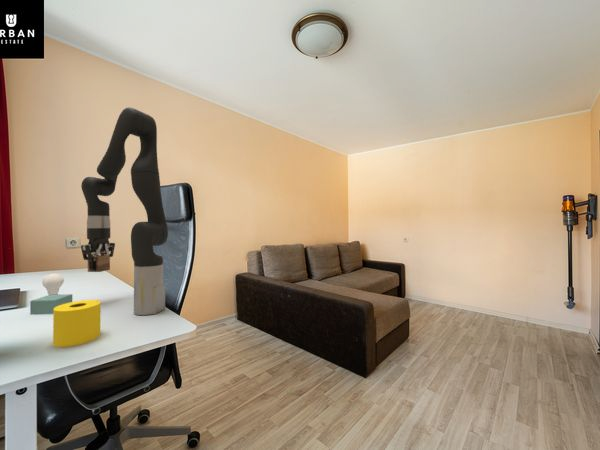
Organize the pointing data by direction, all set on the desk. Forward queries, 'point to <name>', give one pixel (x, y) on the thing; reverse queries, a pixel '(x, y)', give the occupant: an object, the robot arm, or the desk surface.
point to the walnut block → (101, 263)
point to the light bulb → (53, 283)
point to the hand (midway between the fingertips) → (99, 269)
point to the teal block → (48, 303)
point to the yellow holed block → (76, 323)
